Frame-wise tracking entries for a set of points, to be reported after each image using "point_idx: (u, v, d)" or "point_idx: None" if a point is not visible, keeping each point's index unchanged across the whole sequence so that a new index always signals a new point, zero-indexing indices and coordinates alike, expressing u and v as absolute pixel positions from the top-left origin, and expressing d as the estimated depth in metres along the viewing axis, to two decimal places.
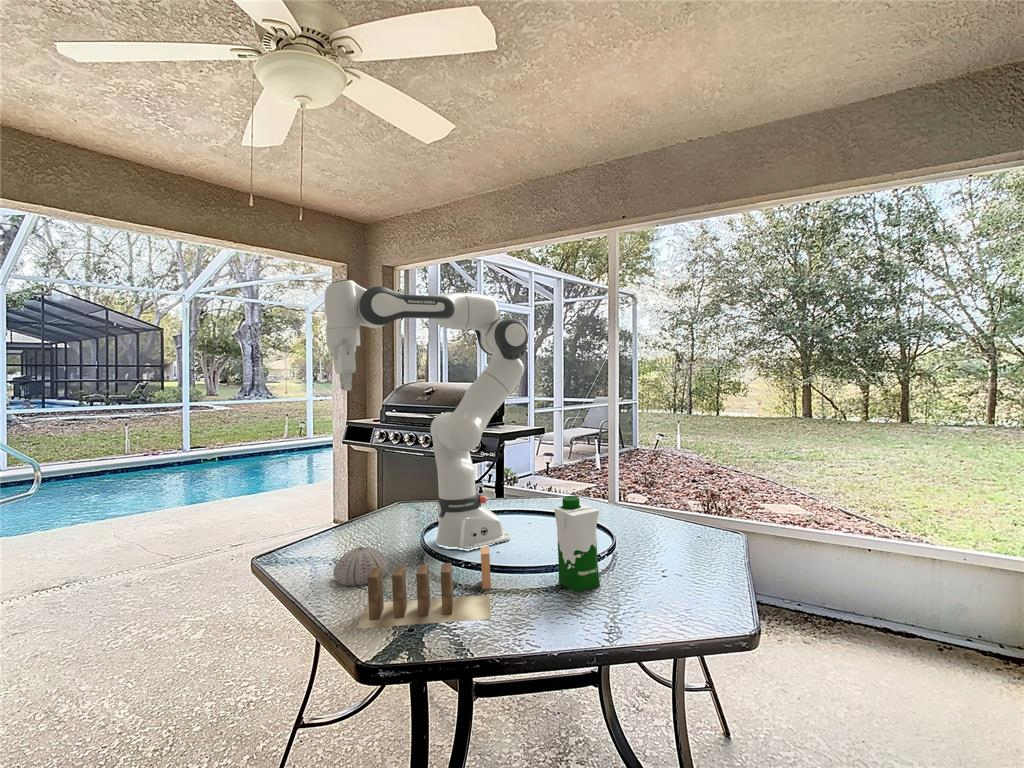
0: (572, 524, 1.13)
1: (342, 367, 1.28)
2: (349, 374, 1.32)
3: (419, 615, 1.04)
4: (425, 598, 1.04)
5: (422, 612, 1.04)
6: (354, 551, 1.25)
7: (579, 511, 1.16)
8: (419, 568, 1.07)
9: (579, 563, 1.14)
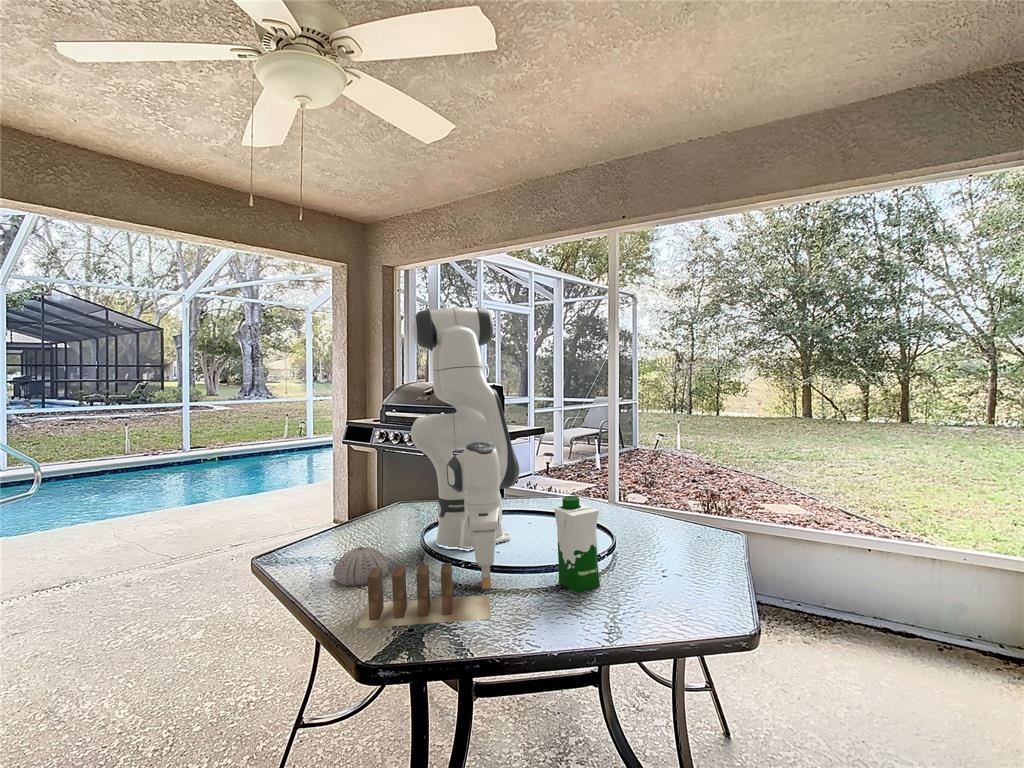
0: (572, 524, 1.13)
1: None
2: None
3: (419, 615, 1.04)
4: (425, 598, 1.04)
5: (422, 612, 1.04)
6: (354, 551, 1.25)
7: (579, 511, 1.16)
8: (419, 568, 1.07)
9: (579, 563, 1.14)
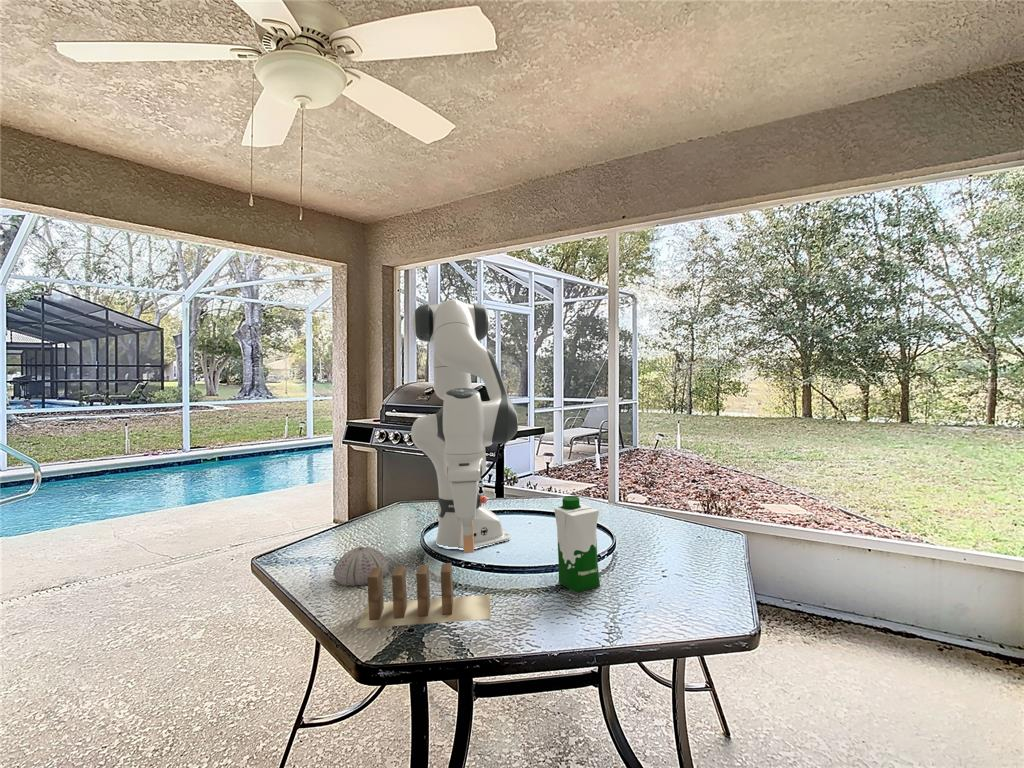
0: (572, 524, 1.13)
1: None
2: None
3: (419, 615, 1.04)
4: (425, 598, 1.04)
5: (422, 612, 1.04)
6: (354, 551, 1.25)
7: (579, 511, 1.16)
8: (419, 568, 1.07)
9: (579, 563, 1.14)
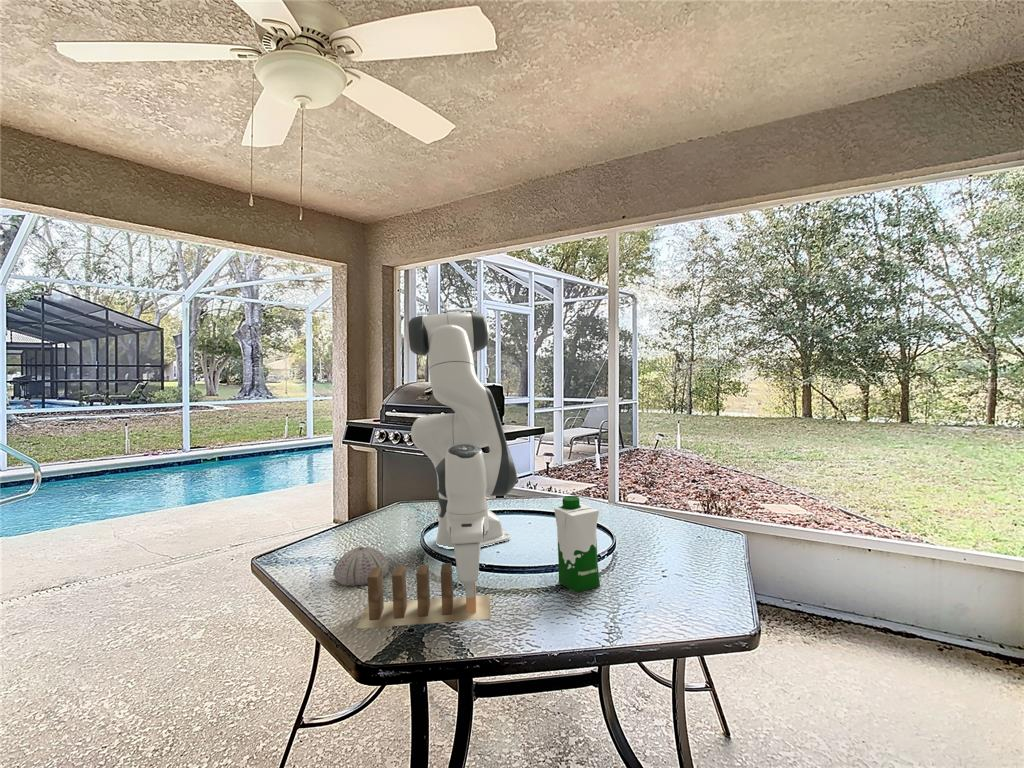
0: (572, 524, 1.13)
1: None
2: None
3: (419, 615, 1.04)
4: (425, 598, 1.04)
5: (422, 612, 1.04)
6: (354, 551, 1.25)
7: (579, 511, 1.16)
8: (419, 568, 1.07)
9: (579, 563, 1.14)
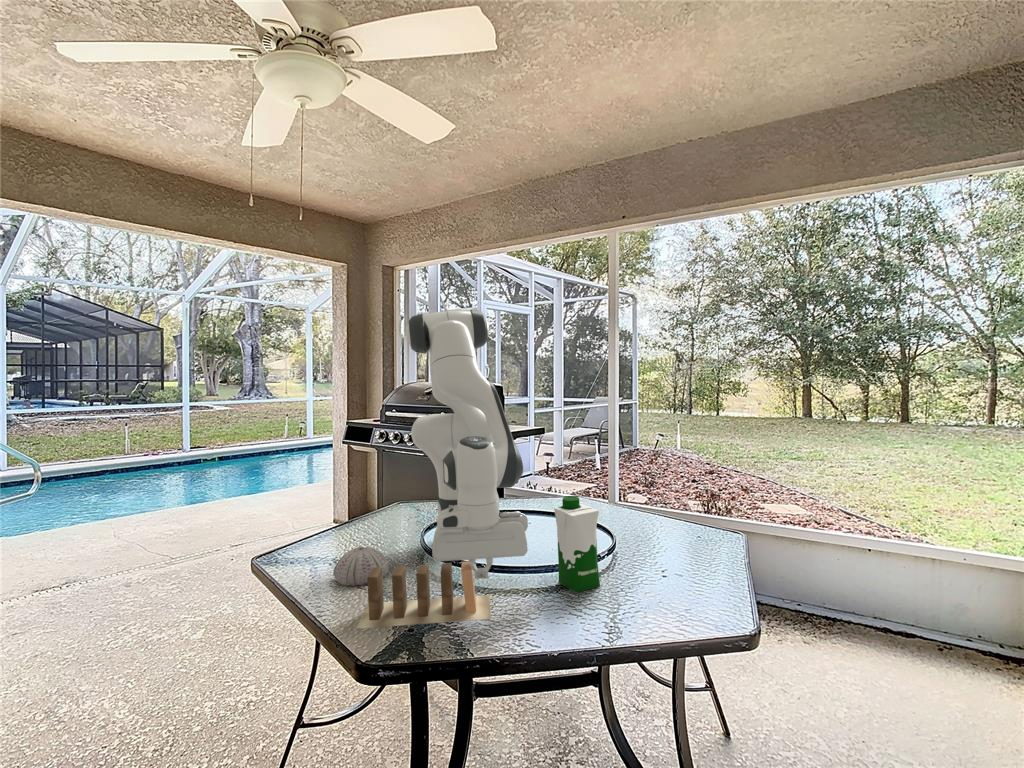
0: (572, 524, 1.13)
1: (527, 549, 1.06)
2: None
3: (419, 615, 1.04)
4: (425, 598, 1.04)
5: (422, 612, 1.04)
6: (354, 551, 1.25)
7: (579, 511, 1.16)
8: (419, 568, 1.07)
9: (579, 563, 1.14)
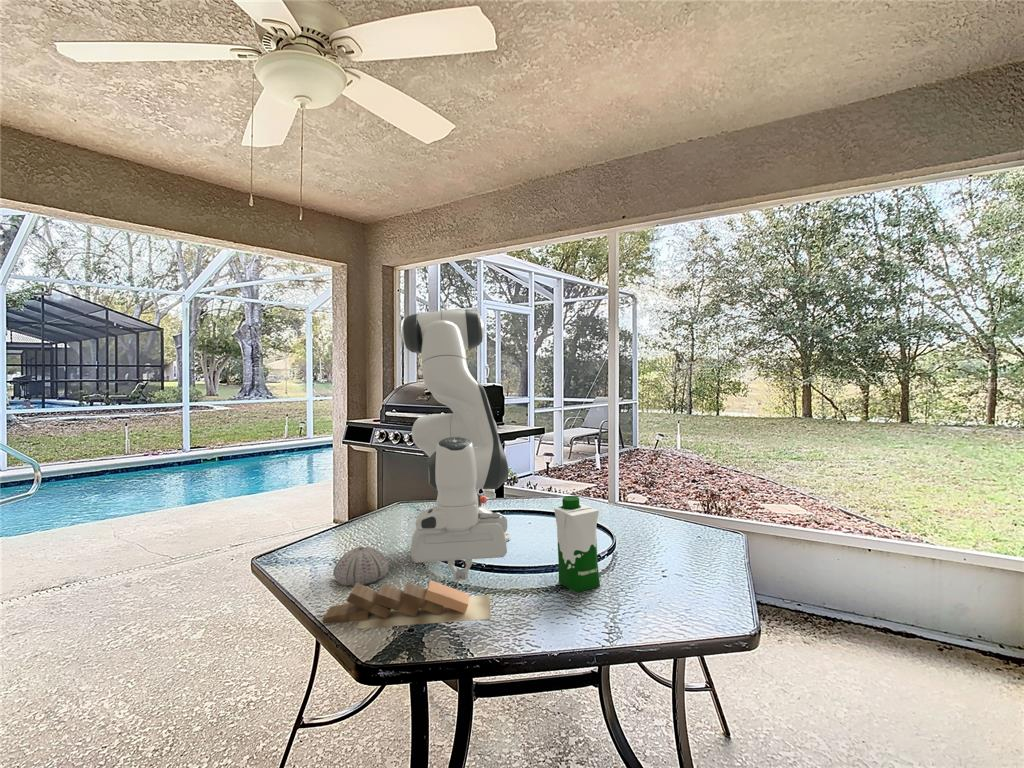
0: (572, 524, 1.13)
1: (506, 550, 1.06)
2: None
3: (414, 615, 1.04)
4: (401, 603, 1.04)
5: (413, 612, 1.04)
6: (354, 551, 1.25)
7: (579, 511, 1.16)
8: None
9: (579, 563, 1.14)
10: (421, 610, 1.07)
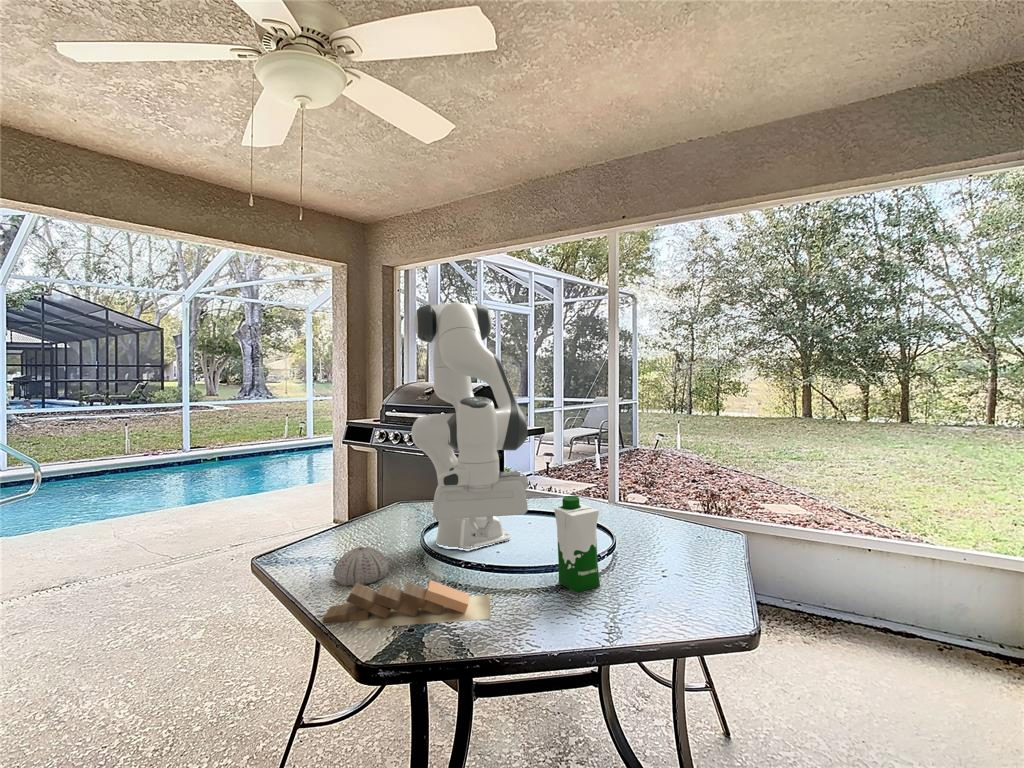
0: (572, 524, 1.13)
1: (527, 507, 1.07)
2: None
3: (414, 615, 1.04)
4: (401, 603, 1.04)
5: (413, 612, 1.04)
6: (354, 551, 1.25)
7: (579, 511, 1.16)
8: None
9: (579, 563, 1.14)
10: (421, 610, 1.07)
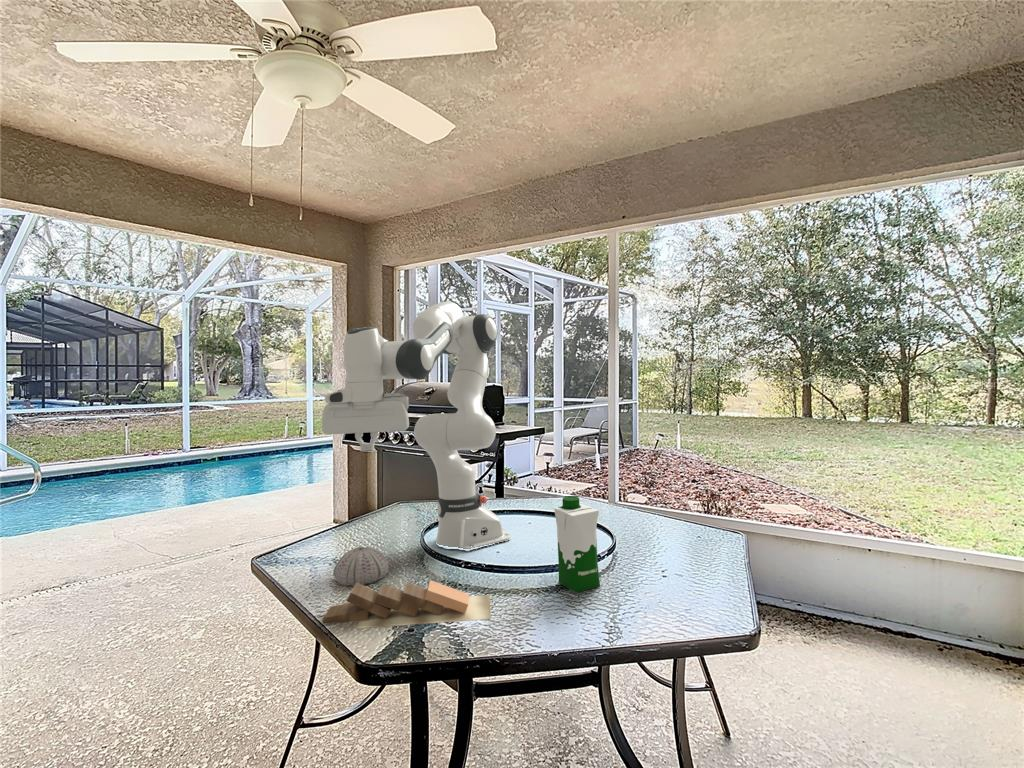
0: (572, 524, 1.13)
1: (406, 424, 1.20)
2: (377, 432, 1.22)
3: (414, 615, 1.04)
4: (401, 603, 1.04)
5: (413, 612, 1.04)
6: (354, 551, 1.25)
7: (579, 511, 1.16)
8: None
9: (579, 563, 1.14)
10: (421, 610, 1.07)
